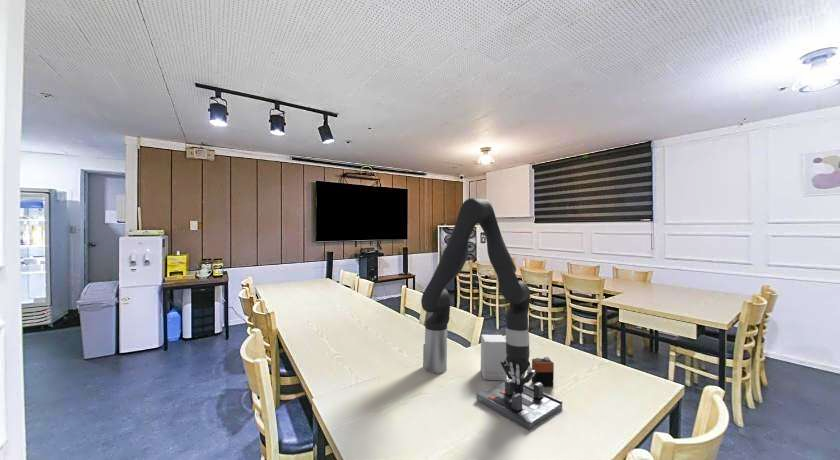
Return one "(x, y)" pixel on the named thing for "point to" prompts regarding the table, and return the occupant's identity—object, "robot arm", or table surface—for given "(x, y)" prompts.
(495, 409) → the panel
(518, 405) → the breaker
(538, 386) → the breaker
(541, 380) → the battery
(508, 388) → the breaker
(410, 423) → the table surface
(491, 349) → the supplement box
